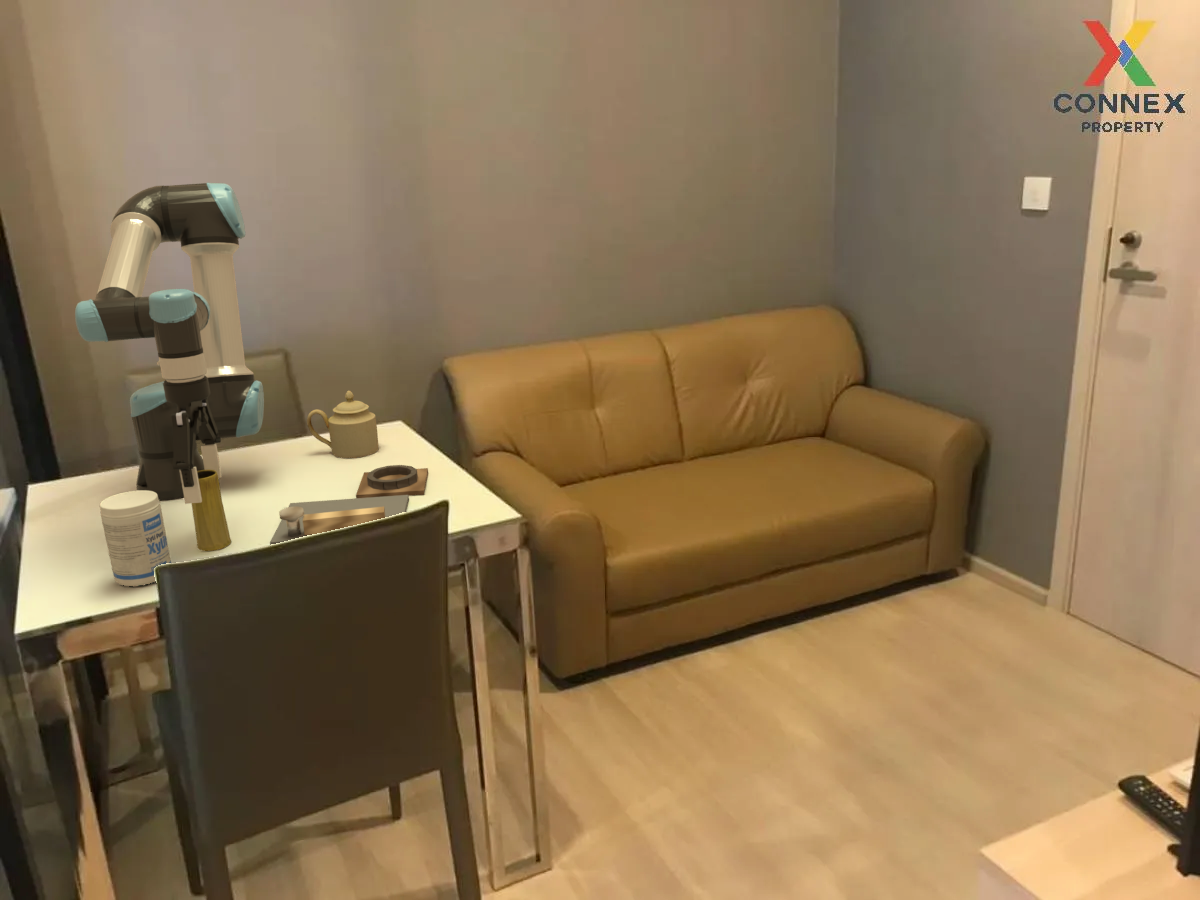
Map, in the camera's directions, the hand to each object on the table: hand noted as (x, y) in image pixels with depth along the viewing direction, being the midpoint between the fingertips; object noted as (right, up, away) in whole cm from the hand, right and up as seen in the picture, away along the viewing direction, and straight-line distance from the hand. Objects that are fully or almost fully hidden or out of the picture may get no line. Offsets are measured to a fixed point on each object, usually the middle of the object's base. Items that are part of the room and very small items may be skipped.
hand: (204, 489), depth 186 cm
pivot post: (+15, -10, +5) cm, 19 cm away
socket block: (+29, 0, +31) cm, 42 cm away
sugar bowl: (+13, +6, +54) cm, 56 cm away
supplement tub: (-7, -15, -8) cm, 19 cm away
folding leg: (+22, -8, +6) cm, 24 cm away
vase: (0, -11, +4) cm, 12 cm away
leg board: (+22, -7, +12) cm, 27 cm away
